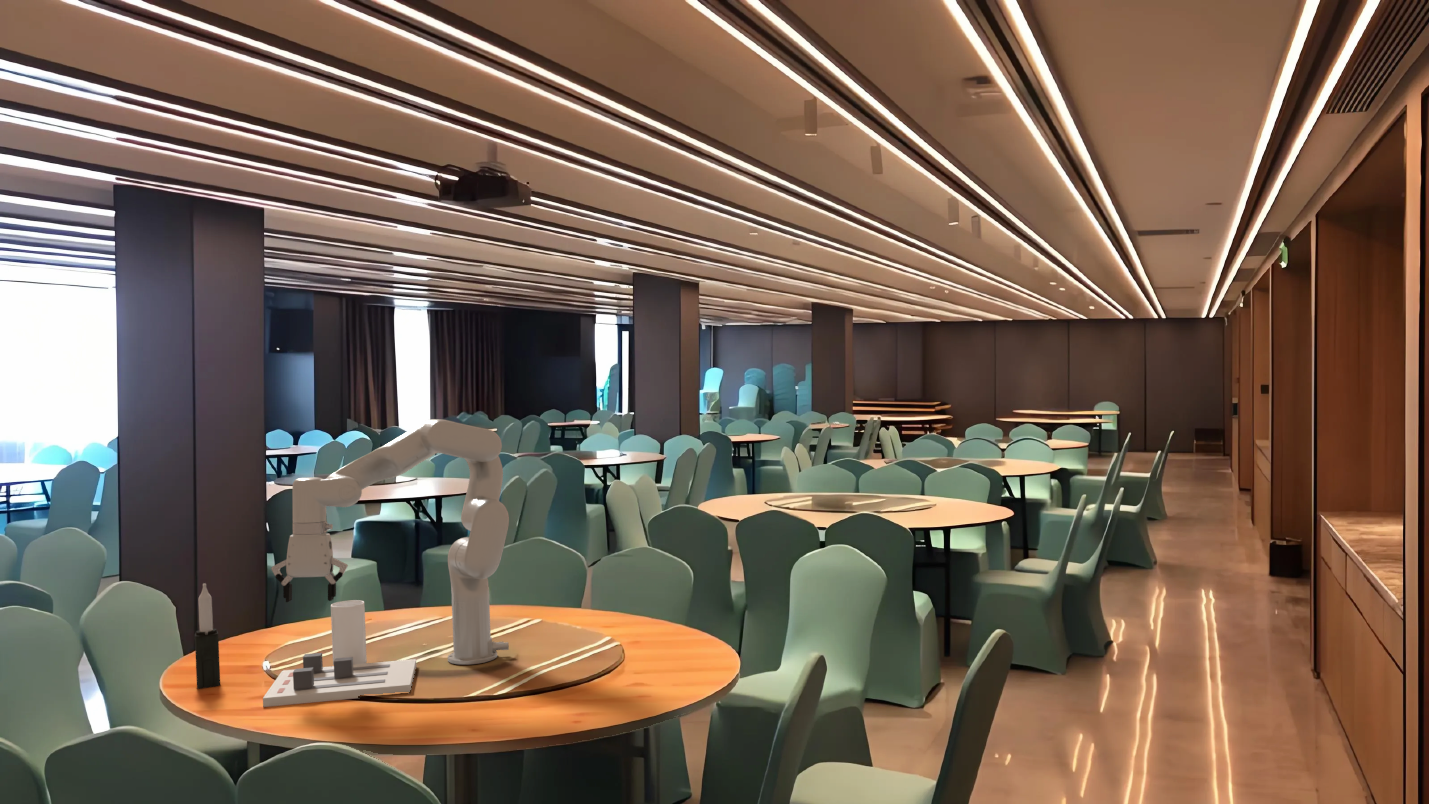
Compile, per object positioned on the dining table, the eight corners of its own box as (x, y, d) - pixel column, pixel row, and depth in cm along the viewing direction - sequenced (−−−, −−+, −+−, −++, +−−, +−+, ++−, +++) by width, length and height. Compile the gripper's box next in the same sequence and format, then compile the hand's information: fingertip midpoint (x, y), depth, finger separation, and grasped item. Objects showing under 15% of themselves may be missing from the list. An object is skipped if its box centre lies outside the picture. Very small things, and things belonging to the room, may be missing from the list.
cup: (355, 669, 266) (353, 606, 266) (326, 668, 268) (324, 606, 268) (372, 661, 274) (370, 600, 274) (344, 660, 276) (341, 599, 276)
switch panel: (416, 666, 267) (415, 641, 267) (410, 693, 244) (409, 665, 243) (282, 678, 260) (281, 652, 260) (263, 706, 237) (262, 678, 236)
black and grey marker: (197, 689, 253) (192, 586, 252) (196, 684, 257) (192, 582, 257) (220, 685, 255) (216, 583, 255) (219, 681, 260) (215, 580, 259)
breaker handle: (353, 673, 254) (352, 656, 254) (352, 676, 251) (351, 659, 251) (336, 674, 253) (335, 658, 253) (334, 678, 250) (333, 661, 250)
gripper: (350, 526, 256) (350, 596, 256) (275, 528, 254) (276, 598, 254) (343, 530, 249) (344, 602, 249) (267, 531, 246) (267, 604, 246)
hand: (309, 600), depth 251 cm, fingers open, 9 cm apart
